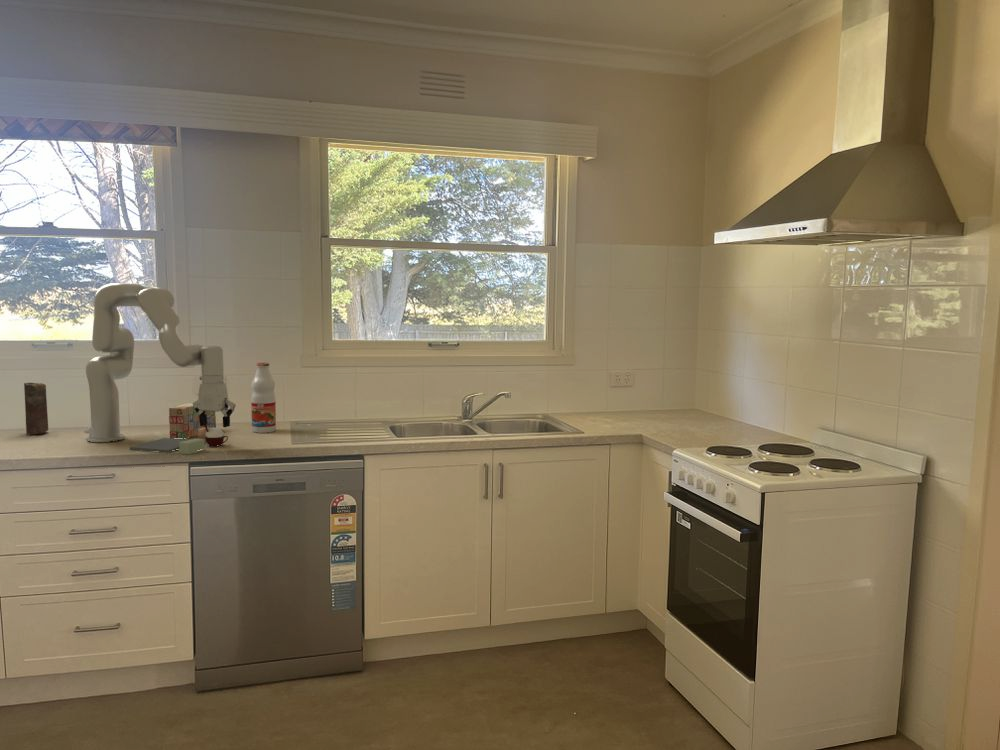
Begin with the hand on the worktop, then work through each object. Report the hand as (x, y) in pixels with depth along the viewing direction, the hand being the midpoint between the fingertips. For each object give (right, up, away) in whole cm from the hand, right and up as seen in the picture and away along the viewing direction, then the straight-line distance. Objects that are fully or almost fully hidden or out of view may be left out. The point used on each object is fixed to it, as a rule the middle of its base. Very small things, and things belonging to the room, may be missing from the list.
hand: (214, 426), depth 268 cm
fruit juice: (+8, -4, +31) cm, 32 cm away
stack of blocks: (-17, -5, +22) cm, 28 cm away
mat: (-17, -7, -2) cm, 18 cm away
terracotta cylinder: (-7, -6, +9) cm, 13 cm away
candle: (-76, -4, +17) cm, 78 cm away
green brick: (-4, -9, -9) cm, 13 cm away
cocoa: (-1, -7, +1) cm, 8 cm away
